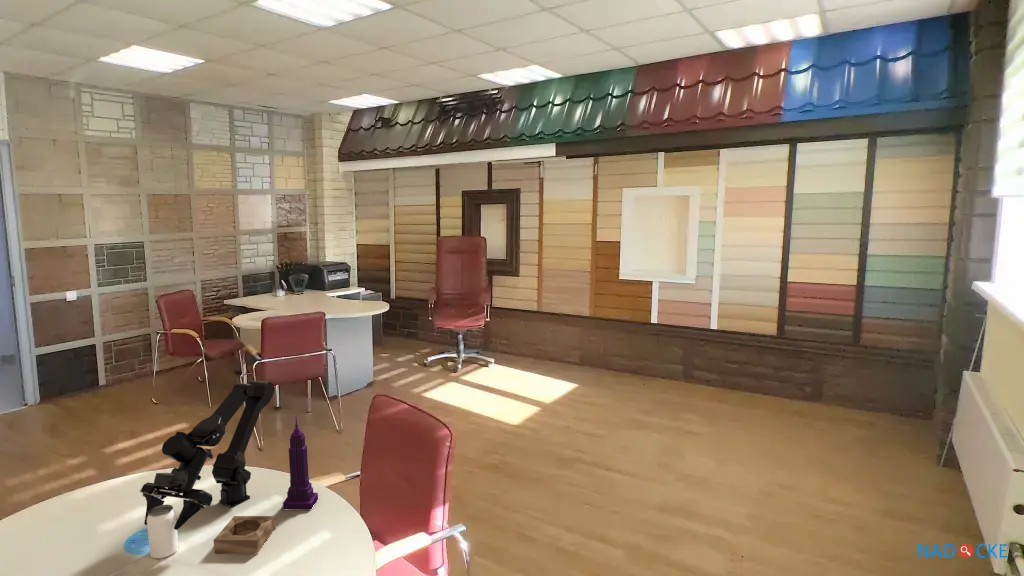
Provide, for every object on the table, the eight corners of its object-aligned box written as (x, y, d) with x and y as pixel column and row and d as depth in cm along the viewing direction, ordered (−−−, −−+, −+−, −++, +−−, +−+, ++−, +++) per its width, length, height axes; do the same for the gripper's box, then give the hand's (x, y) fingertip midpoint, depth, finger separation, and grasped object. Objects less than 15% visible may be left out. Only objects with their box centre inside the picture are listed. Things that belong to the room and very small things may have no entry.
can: (165, 561, 147) (161, 518, 145) (144, 557, 148) (139, 515, 146) (184, 546, 153) (180, 505, 151) (163, 543, 154) (160, 502, 152)
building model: (318, 499, 177) (314, 407, 173) (311, 510, 171) (306, 415, 166) (291, 498, 178) (285, 407, 173) (282, 510, 171) (276, 415, 167)
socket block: (235, 528, 161) (234, 515, 161) (275, 529, 161) (274, 516, 161) (214, 553, 150) (213, 539, 149) (257, 553, 150) (256, 540, 149)
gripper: (142, 454, 154) (109, 514, 145) (201, 462, 150) (171, 523, 141) (168, 468, 162) (138, 525, 153) (224, 476, 158) (197, 535, 149)
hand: (160, 527), depth 149 cm, fingers open, 9 cm apart
